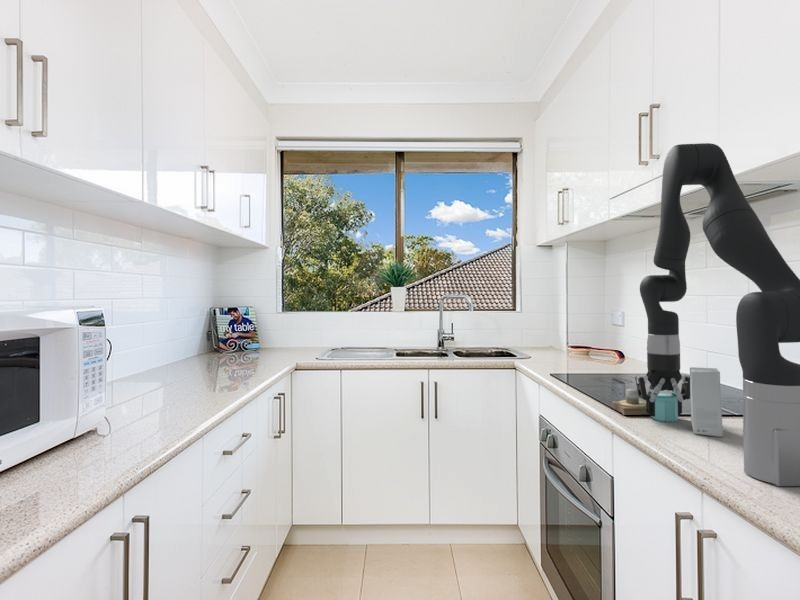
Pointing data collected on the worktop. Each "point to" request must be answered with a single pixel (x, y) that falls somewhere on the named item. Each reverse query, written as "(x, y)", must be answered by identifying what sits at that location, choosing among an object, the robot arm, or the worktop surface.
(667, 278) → the robot arm
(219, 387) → the worktop surface
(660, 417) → the cap
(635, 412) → the board
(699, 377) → the skincare box
